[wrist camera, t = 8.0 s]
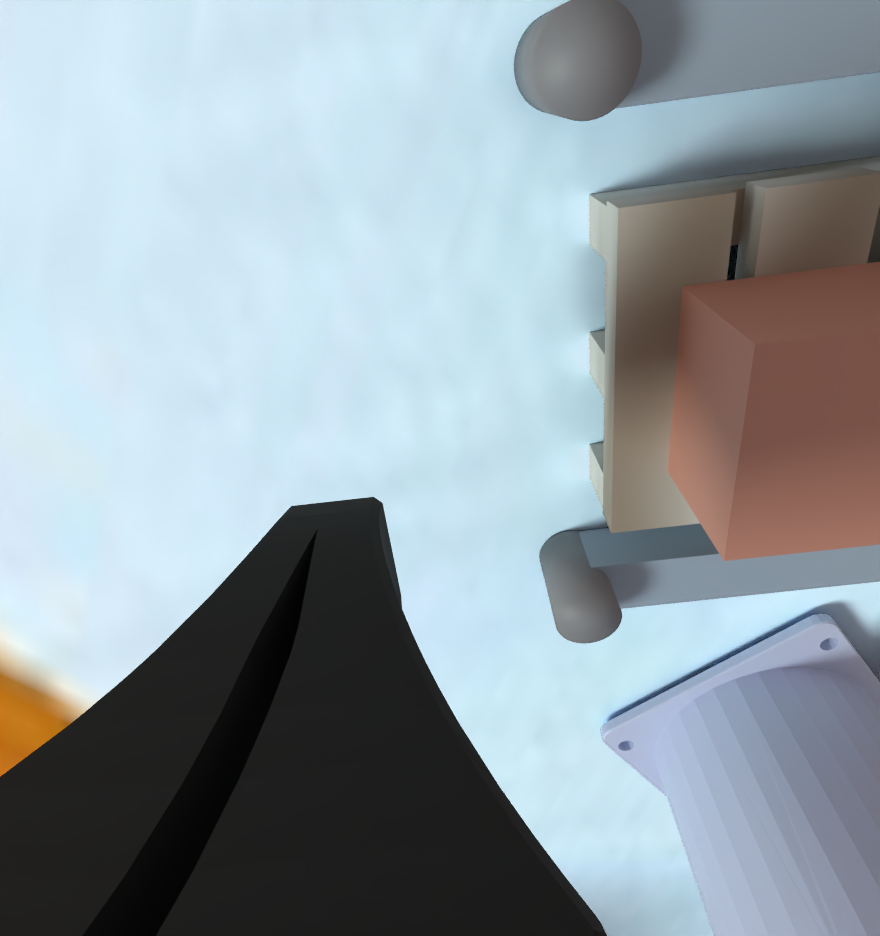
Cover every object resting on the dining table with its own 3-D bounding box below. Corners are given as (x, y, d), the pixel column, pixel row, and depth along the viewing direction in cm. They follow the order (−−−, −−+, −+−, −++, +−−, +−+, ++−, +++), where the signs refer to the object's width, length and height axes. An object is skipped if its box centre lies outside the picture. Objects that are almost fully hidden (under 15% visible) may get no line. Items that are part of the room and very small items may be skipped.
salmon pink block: (906, 258, 12) (1043, 309, 9) (857, 450, 14) (958, 536, 11) (682, 285, 12) (755, 343, 9) (667, 471, 14) (724, 560, 11)
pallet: (940, 140, 13) (1040, 152, 11) (863, 445, 16) (926, 498, 14) (587, 187, 13) (618, 208, 11) (587, 477, 17) (611, 533, 15)
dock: (1146, -76, 11) (1323, -113, 9) (933, 537, 18) (1003, 600, 16) (511, 16, 11) (532, 2, 9) (540, 579, 18) (556, 646, 16)
